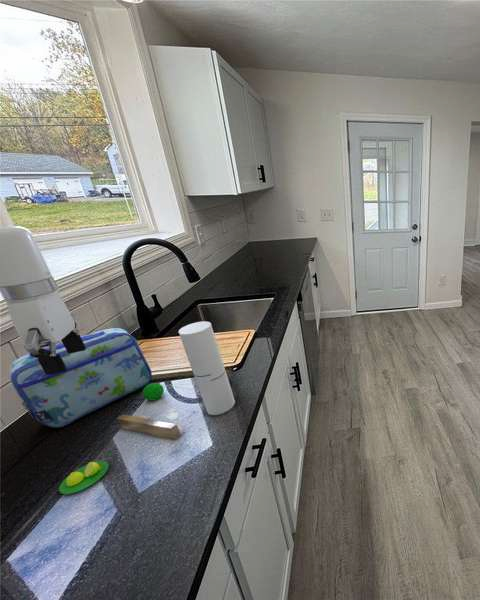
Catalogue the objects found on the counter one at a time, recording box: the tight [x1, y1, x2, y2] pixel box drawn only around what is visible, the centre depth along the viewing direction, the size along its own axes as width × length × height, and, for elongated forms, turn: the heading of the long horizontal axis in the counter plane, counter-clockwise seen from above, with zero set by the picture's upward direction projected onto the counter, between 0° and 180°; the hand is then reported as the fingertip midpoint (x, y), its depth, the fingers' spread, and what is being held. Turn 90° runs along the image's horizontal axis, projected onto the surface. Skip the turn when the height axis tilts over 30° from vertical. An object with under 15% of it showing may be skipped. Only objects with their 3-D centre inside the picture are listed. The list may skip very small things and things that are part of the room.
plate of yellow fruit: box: [58, 460, 110, 495], centre depth 68 cm, size 8×8×3 cm
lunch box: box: [8, 327, 153, 428], centre depth 89 cm, size 26×11×21 cm, turn 144°
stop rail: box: [116, 413, 182, 440], centre depth 80 cm, size 18×2×4 cm, turn 75°
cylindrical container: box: [178, 321, 236, 416], centre depth 84 cm, size 7×7×25 cm
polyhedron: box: [141, 382, 165, 401], centre depth 93 cm, size 5×5×5 cm
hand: (68, 361), depth 70 cm, fingers open, 9 cm apart
